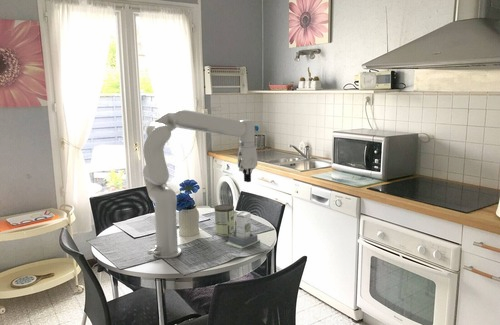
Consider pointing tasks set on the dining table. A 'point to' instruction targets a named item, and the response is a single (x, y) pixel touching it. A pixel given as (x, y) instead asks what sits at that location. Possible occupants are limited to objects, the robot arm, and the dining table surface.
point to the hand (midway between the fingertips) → (247, 181)
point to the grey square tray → (243, 240)
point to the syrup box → (242, 224)
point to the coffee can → (224, 220)
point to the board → (239, 245)
